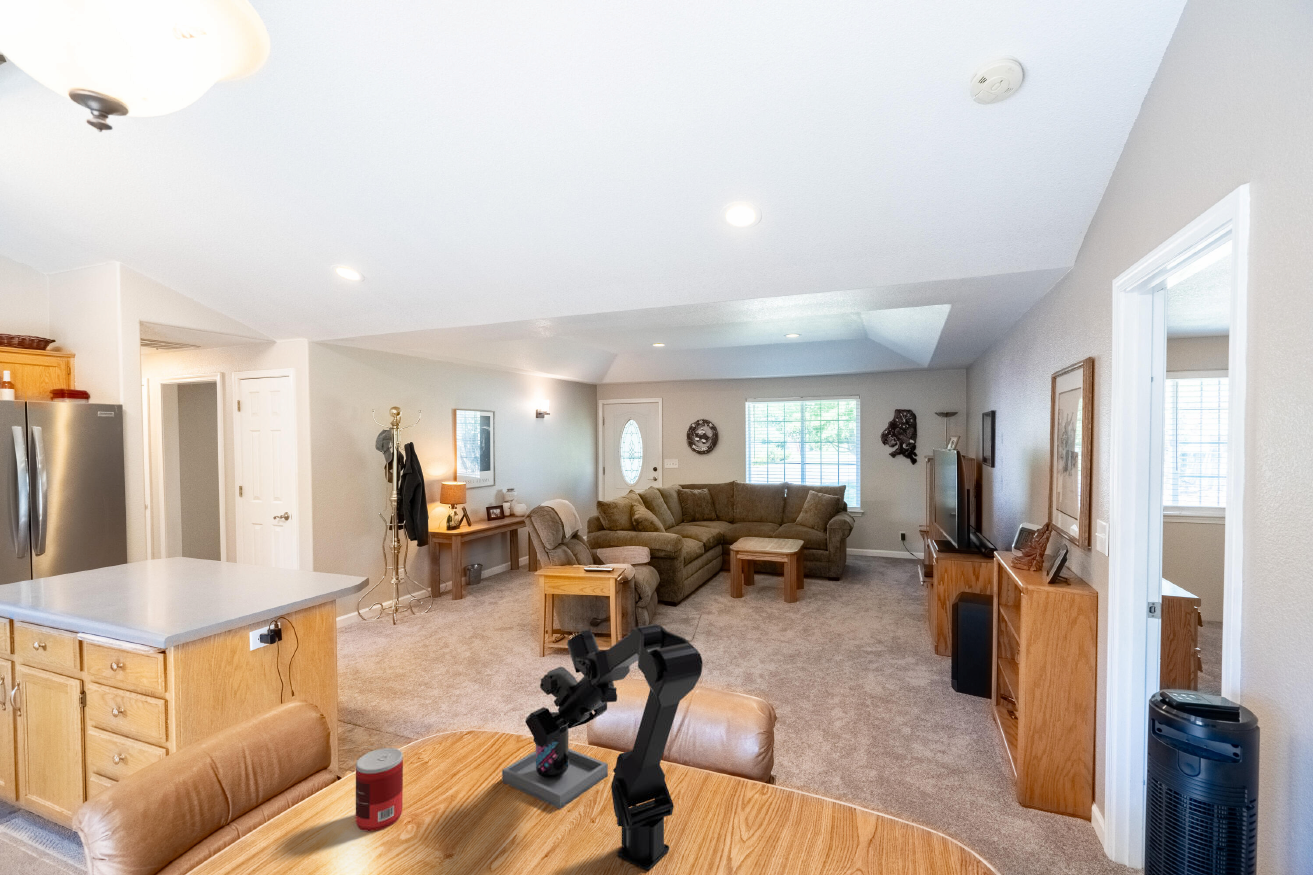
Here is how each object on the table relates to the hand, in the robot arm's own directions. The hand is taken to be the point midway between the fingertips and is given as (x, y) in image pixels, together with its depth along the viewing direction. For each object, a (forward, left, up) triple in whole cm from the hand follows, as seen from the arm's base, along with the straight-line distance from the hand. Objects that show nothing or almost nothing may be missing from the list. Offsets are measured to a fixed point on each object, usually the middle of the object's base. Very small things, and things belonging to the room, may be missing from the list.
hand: (547, 735), depth 126 cm
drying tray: (-2, 0, -8) cm, 9 cm away
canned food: (+15, +28, -9) cm, 33 cm away
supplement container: (-1, 0, -7) cm, 7 cm away
